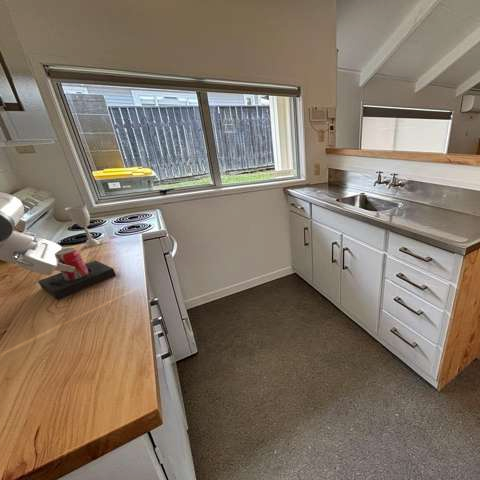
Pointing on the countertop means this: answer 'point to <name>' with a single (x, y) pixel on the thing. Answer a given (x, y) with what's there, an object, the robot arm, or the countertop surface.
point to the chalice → (82, 221)
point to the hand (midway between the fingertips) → (74, 265)
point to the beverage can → (72, 263)
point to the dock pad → (76, 280)
